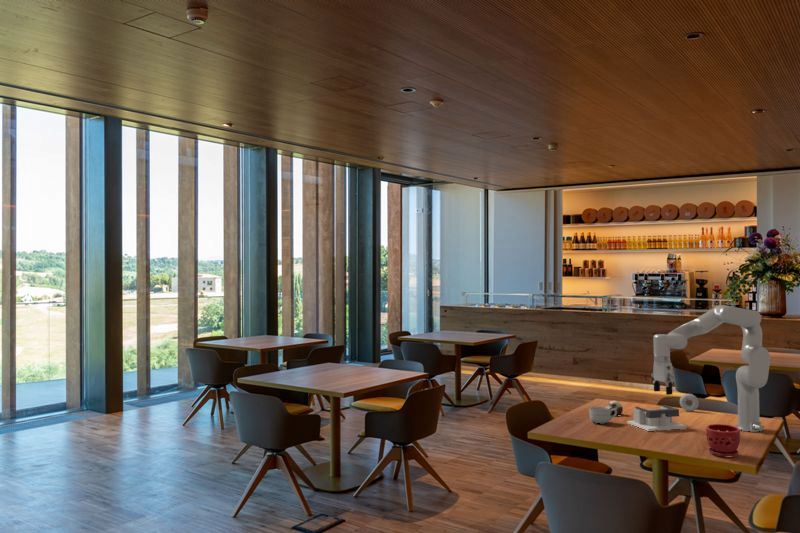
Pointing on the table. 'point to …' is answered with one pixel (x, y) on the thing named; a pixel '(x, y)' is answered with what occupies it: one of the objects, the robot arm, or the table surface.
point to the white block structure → (654, 422)
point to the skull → (615, 406)
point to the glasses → (660, 412)
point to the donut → (693, 398)
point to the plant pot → (723, 439)
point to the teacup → (601, 414)
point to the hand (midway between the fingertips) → (663, 392)
